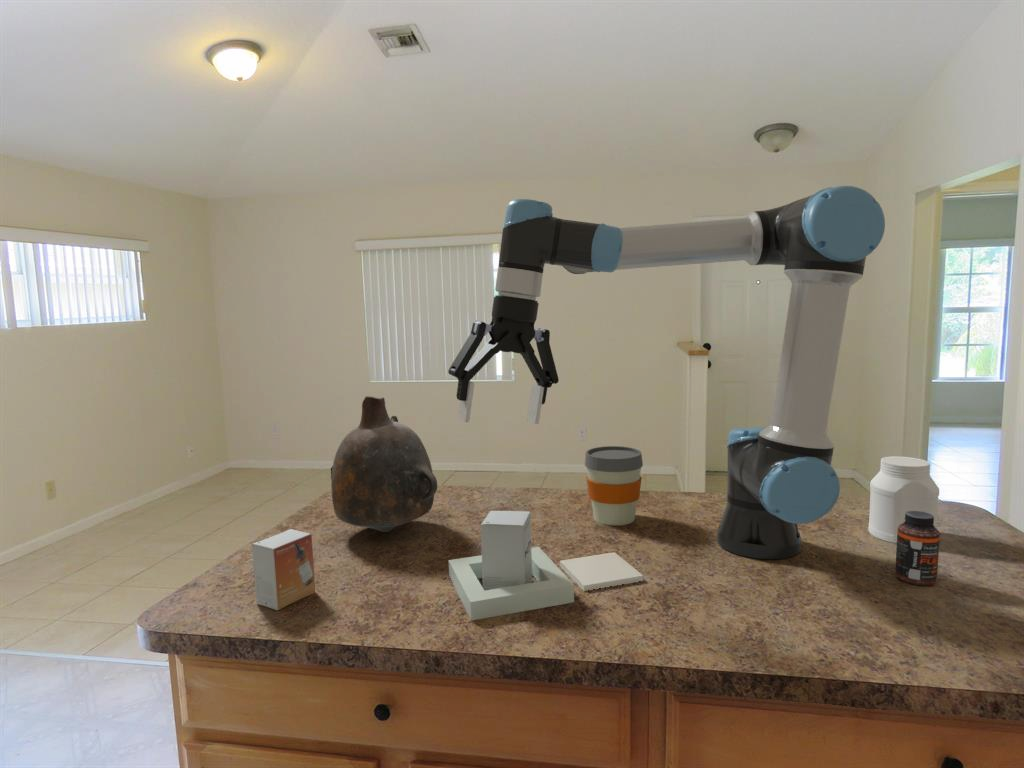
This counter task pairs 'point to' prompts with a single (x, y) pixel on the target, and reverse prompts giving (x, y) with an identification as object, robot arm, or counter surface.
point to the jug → (381, 472)
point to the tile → (600, 571)
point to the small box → (283, 569)
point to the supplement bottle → (917, 549)
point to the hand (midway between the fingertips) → (499, 421)
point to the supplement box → (506, 549)
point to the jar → (900, 495)
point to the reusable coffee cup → (614, 483)
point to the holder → (510, 588)
